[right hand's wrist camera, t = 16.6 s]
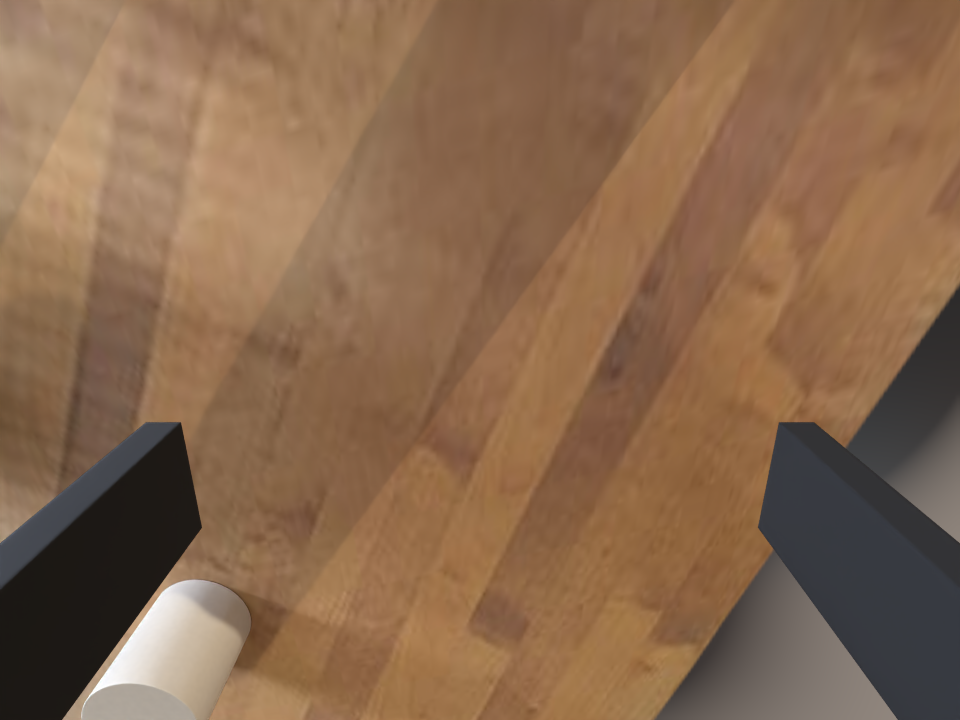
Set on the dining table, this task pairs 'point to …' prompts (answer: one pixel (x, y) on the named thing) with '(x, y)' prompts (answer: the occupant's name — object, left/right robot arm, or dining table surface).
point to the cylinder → (175, 657)
